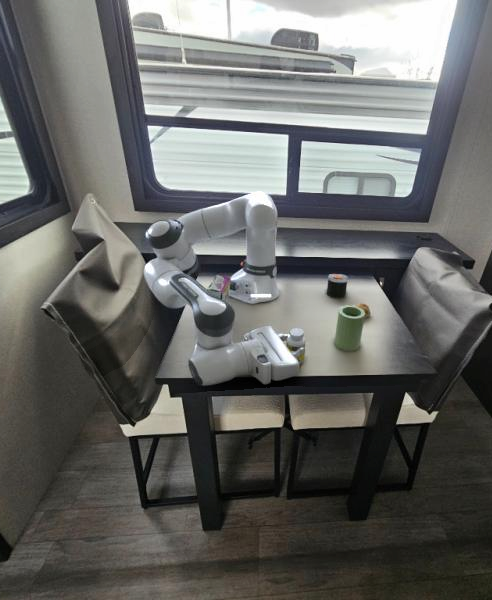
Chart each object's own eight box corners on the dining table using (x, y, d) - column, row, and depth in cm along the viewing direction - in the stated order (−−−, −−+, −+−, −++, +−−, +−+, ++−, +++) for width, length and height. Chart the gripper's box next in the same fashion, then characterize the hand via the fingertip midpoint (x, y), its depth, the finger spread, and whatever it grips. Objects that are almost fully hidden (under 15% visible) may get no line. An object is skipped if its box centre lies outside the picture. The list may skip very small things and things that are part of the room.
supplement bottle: (289, 366, 91) (291, 339, 86) (283, 355, 95) (284, 328, 90) (307, 362, 93) (309, 335, 88) (299, 351, 97) (301, 325, 92)
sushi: (345, 298, 129) (348, 281, 125) (325, 296, 130) (327, 278, 126) (346, 290, 136) (348, 273, 132) (327, 287, 137) (329, 271, 133)
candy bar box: (219, 337, 101) (222, 292, 93) (203, 334, 101) (205, 289, 93) (227, 318, 111) (231, 276, 103) (213, 316, 111) (216, 274, 103)
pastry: (354, 323, 113) (355, 314, 111) (341, 315, 117) (342, 306, 115) (371, 315, 118) (373, 307, 116) (358, 308, 123) (359, 299, 121)
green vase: (332, 347, 100) (336, 314, 94) (338, 333, 106) (342, 303, 101) (356, 353, 98) (362, 320, 92) (361, 339, 104) (367, 308, 99)
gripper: (241, 344, 95) (282, 333, 101) (267, 389, 79) (315, 373, 85) (240, 326, 92) (283, 316, 98) (267, 369, 76) (316, 354, 82)
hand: (298, 343), depth 91 cm, fingers closed on supplement bottle, 5 cm apart
